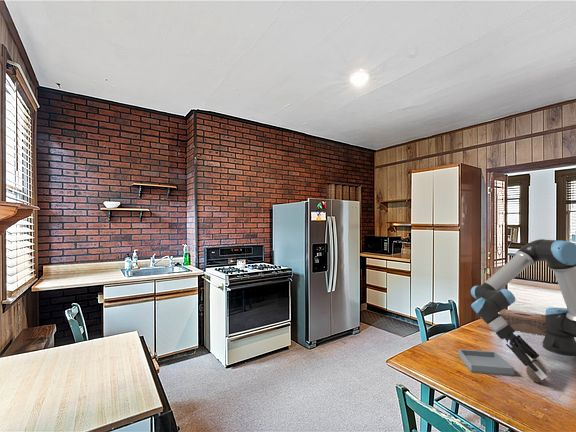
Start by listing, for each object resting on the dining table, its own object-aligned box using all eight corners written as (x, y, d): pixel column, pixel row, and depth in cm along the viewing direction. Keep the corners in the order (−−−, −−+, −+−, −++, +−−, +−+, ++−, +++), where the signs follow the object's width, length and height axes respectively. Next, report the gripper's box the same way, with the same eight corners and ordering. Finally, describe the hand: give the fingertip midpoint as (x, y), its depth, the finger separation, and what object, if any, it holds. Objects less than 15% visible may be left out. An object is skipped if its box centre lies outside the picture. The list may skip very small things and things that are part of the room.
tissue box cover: (548, 330, 194) (547, 315, 194) (550, 337, 183) (549, 321, 183) (500, 322, 210) (499, 308, 210) (499, 328, 198) (499, 313, 198)
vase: (542, 377, 134) (541, 358, 135) (550, 385, 128) (549, 365, 128) (523, 375, 137) (523, 356, 137) (530, 382, 130) (530, 362, 130)
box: (495, 358, 155) (495, 351, 155) (514, 376, 138) (513, 368, 138) (458, 355, 159) (457, 349, 159) (471, 372, 141) (471, 365, 141)
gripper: (502, 327, 151) (544, 371, 138) (488, 337, 139) (533, 387, 126) (514, 319, 147) (559, 364, 134) (501, 329, 135) (549, 379, 122)
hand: (546, 375), depth 130 cm, fingers closed on vase, 6 cm apart
